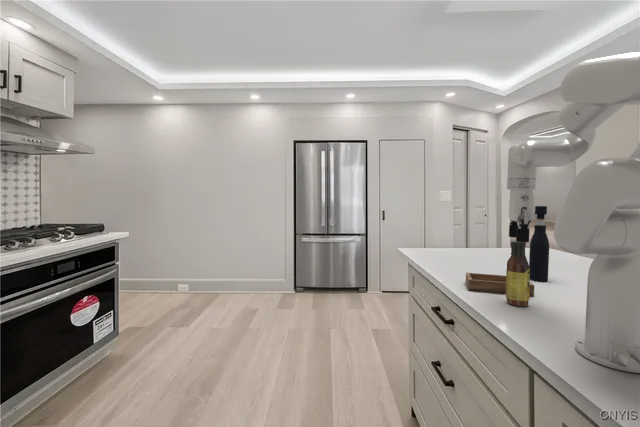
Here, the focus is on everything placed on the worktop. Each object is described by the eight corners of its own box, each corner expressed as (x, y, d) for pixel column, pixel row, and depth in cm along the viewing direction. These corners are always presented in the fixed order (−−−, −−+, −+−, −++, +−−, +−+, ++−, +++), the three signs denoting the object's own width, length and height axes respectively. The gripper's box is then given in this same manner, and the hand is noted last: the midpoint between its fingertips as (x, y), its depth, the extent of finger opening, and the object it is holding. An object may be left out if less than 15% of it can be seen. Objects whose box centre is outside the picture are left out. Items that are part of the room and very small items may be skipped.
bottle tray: (533, 297, 105) (534, 285, 105) (468, 290, 112) (468, 279, 112) (524, 287, 116) (525, 277, 115) (465, 282, 123) (465, 272, 122)
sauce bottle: (532, 308, 95) (535, 243, 94) (510, 306, 96) (512, 242, 95) (523, 301, 101) (525, 240, 100) (502, 299, 103) (504, 239, 101)
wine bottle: (531, 281, 124) (534, 206, 122) (526, 277, 130) (529, 205, 129) (550, 282, 122) (553, 206, 121) (544, 278, 128) (547, 206, 127)
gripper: (544, 184, 87) (541, 244, 89) (527, 185, 103) (524, 236, 105) (513, 184, 90) (510, 243, 91) (501, 185, 106) (499, 235, 107)
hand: (518, 239), depth 98 cm, fingers open, 9 cm apart
